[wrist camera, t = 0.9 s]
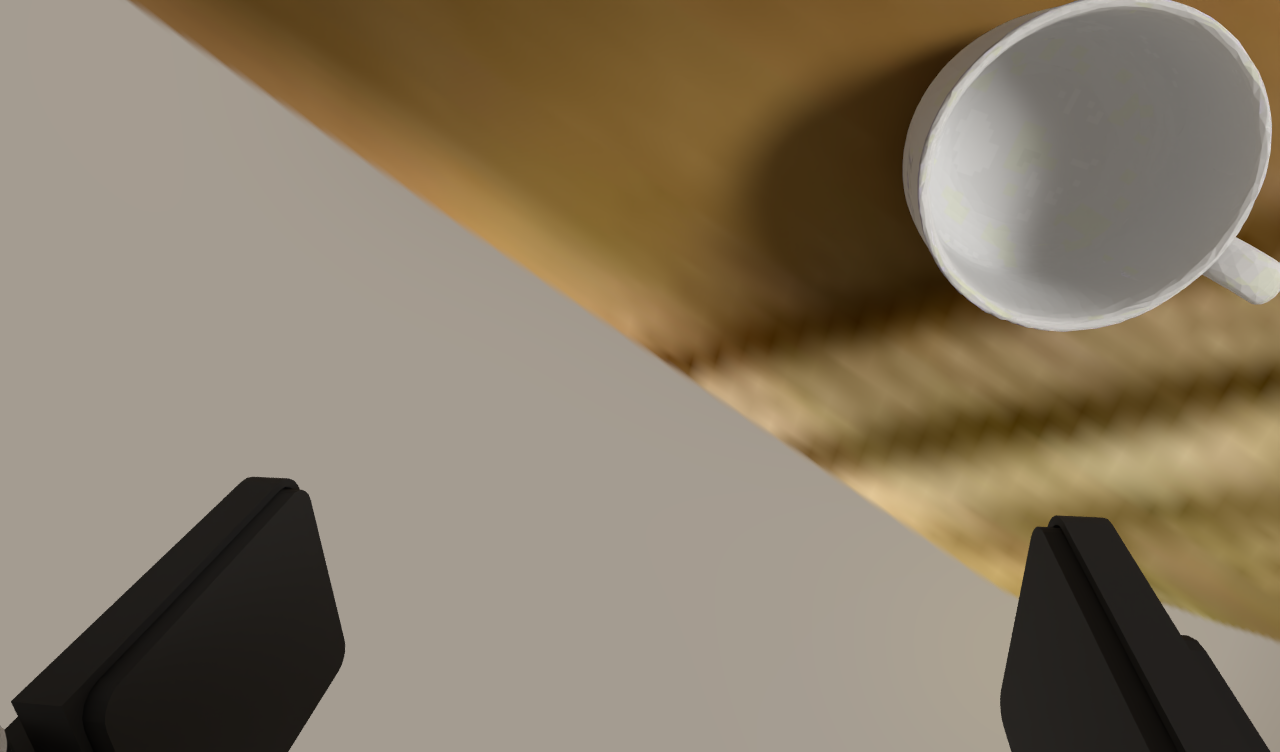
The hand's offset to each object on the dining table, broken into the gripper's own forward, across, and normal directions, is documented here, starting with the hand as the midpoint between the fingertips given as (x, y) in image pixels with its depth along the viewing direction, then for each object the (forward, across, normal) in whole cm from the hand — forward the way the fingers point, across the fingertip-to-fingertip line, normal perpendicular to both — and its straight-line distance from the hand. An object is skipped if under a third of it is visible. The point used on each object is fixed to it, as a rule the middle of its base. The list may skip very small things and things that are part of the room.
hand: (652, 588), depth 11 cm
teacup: (+29, -13, 0) cm, 31 cm away
